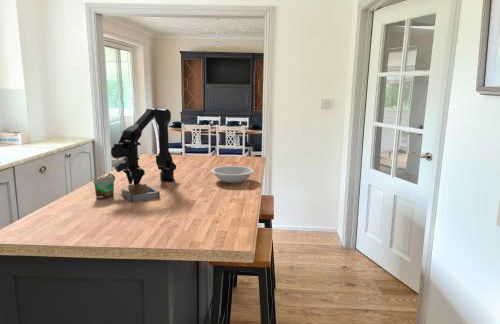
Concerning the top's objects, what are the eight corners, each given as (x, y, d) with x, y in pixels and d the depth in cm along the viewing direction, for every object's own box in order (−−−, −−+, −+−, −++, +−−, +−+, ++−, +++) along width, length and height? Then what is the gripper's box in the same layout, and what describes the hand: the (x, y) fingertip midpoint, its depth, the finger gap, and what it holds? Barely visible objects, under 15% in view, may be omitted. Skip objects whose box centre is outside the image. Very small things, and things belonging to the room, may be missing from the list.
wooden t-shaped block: (145, 192, 180) (144, 182, 179) (150, 196, 173) (150, 186, 172) (128, 195, 175) (128, 185, 174) (133, 199, 169) (133, 188, 168)
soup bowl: (245, 189, 190) (245, 176, 189) (203, 184, 198) (203, 172, 197) (259, 179, 212) (260, 167, 211) (222, 175, 220) (222, 164, 219)
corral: (149, 191, 183) (149, 185, 182) (159, 197, 172) (159, 191, 171) (122, 195, 175) (121, 188, 175) (131, 202, 164) (130, 196, 164)
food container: (106, 201, 165) (105, 179, 163) (94, 200, 167) (93, 178, 165) (121, 194, 177) (120, 173, 175) (109, 193, 178) (108, 173, 176)
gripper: (109, 153, 182) (111, 184, 185) (120, 159, 167) (122, 192, 170) (132, 151, 188) (133, 181, 191) (144, 157, 173) (145, 189, 176)
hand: (133, 186), depth 182 cm, fingers open, 8 cm apart
